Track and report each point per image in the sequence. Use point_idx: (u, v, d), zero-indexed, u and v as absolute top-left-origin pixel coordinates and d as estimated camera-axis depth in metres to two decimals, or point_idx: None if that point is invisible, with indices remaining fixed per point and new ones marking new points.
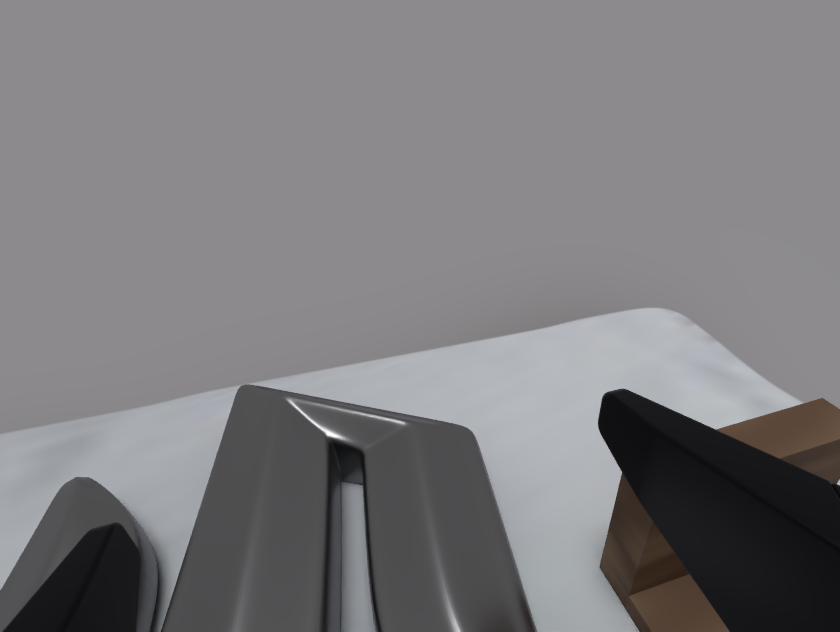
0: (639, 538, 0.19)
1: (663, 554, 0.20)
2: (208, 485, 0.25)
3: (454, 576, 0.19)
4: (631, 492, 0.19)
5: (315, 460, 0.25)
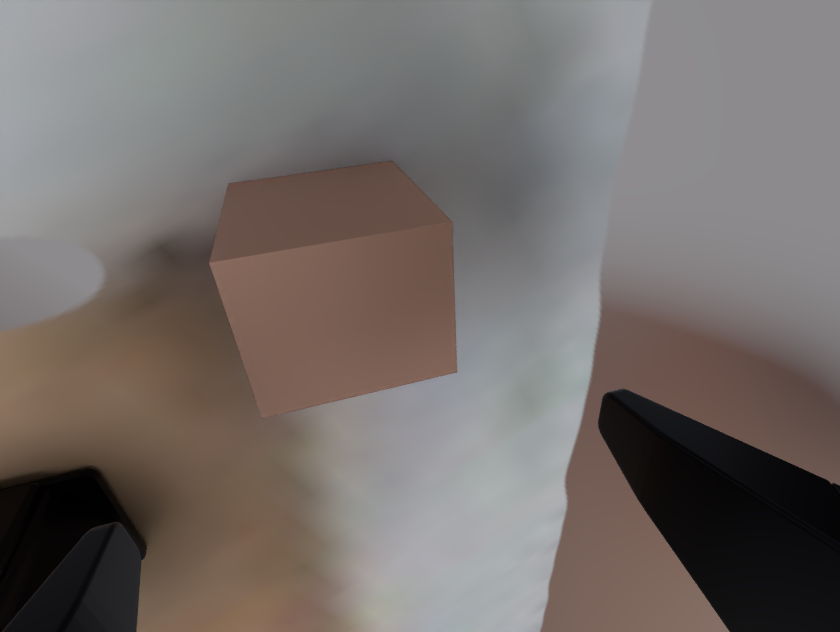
0: None
1: None
2: None
3: None
4: None
5: None
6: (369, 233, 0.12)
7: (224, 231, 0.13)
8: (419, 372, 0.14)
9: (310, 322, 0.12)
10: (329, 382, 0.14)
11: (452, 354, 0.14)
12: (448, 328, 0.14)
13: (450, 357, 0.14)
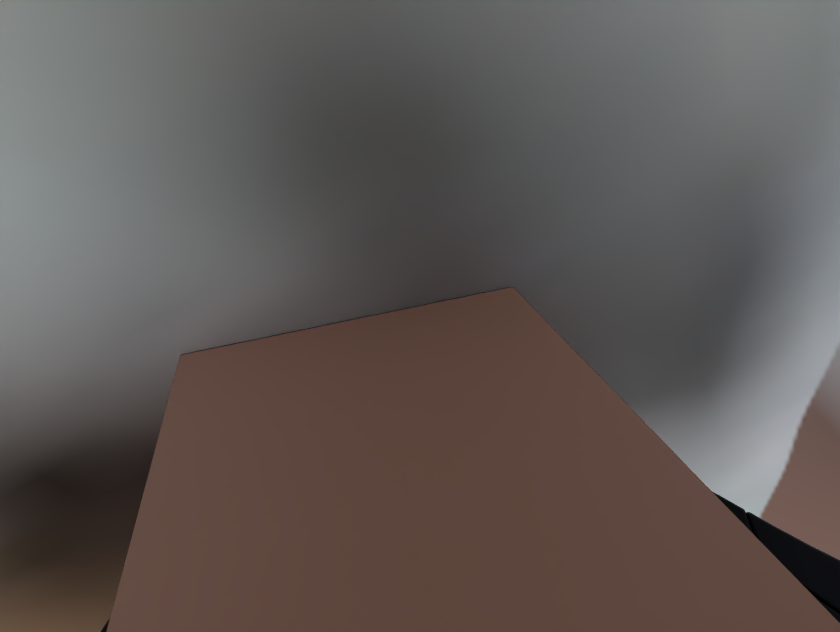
0: None
1: None
2: None
3: None
4: None
5: None
6: None
7: None
8: None
9: None
10: None
11: None
12: None
13: None
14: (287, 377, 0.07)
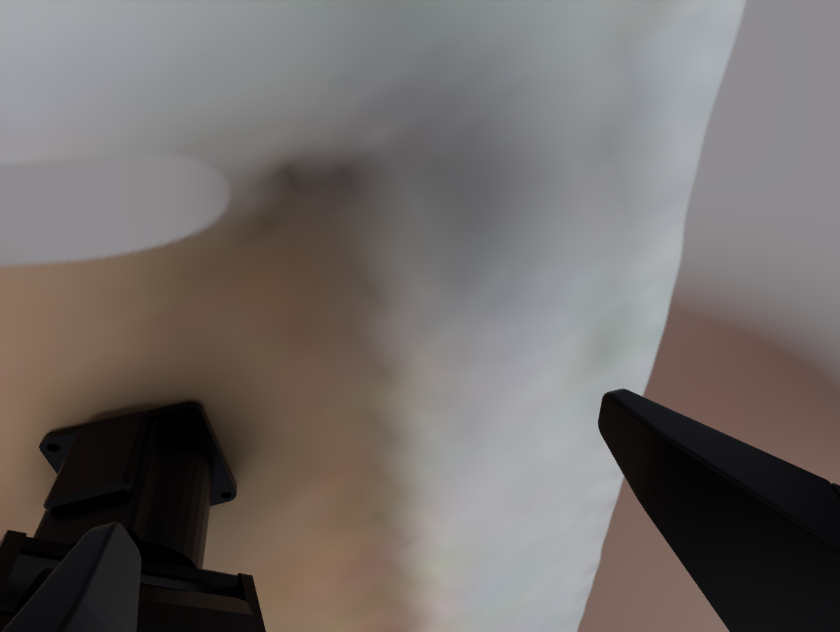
0: None
1: None
2: None
3: None
4: None
5: None
6: None
7: None
8: None
9: None
10: None
11: None
12: None
13: None
14: None
